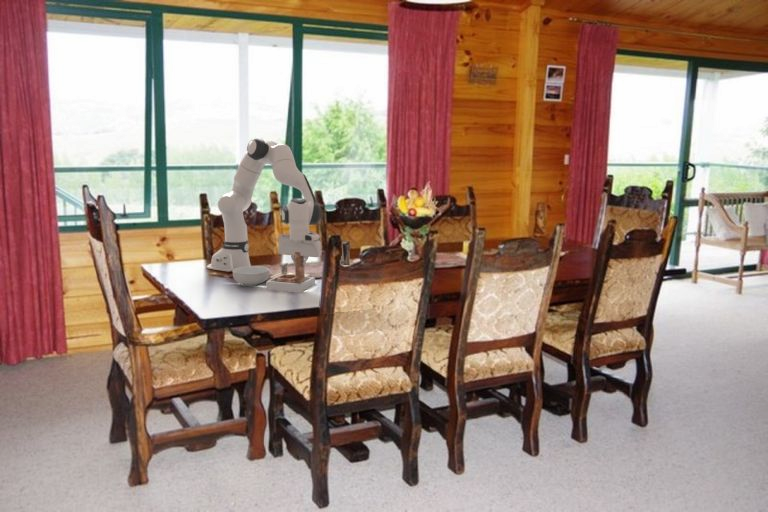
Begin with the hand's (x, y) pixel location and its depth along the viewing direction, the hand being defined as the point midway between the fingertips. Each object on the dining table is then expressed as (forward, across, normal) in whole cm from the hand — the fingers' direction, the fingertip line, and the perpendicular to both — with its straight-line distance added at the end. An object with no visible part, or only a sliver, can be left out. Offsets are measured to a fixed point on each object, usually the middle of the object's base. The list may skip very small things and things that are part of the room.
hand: (299, 265), depth 315 cm
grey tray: (+11, -4, 0) cm, 12 cm away
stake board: (+11, -14, +17) cm, 24 cm away
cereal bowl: (+11, -24, -1) cm, 27 cm away
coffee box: (+11, +6, +33) cm, 35 cm away
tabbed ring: (+8, -4, 0) cm, 9 cm away
